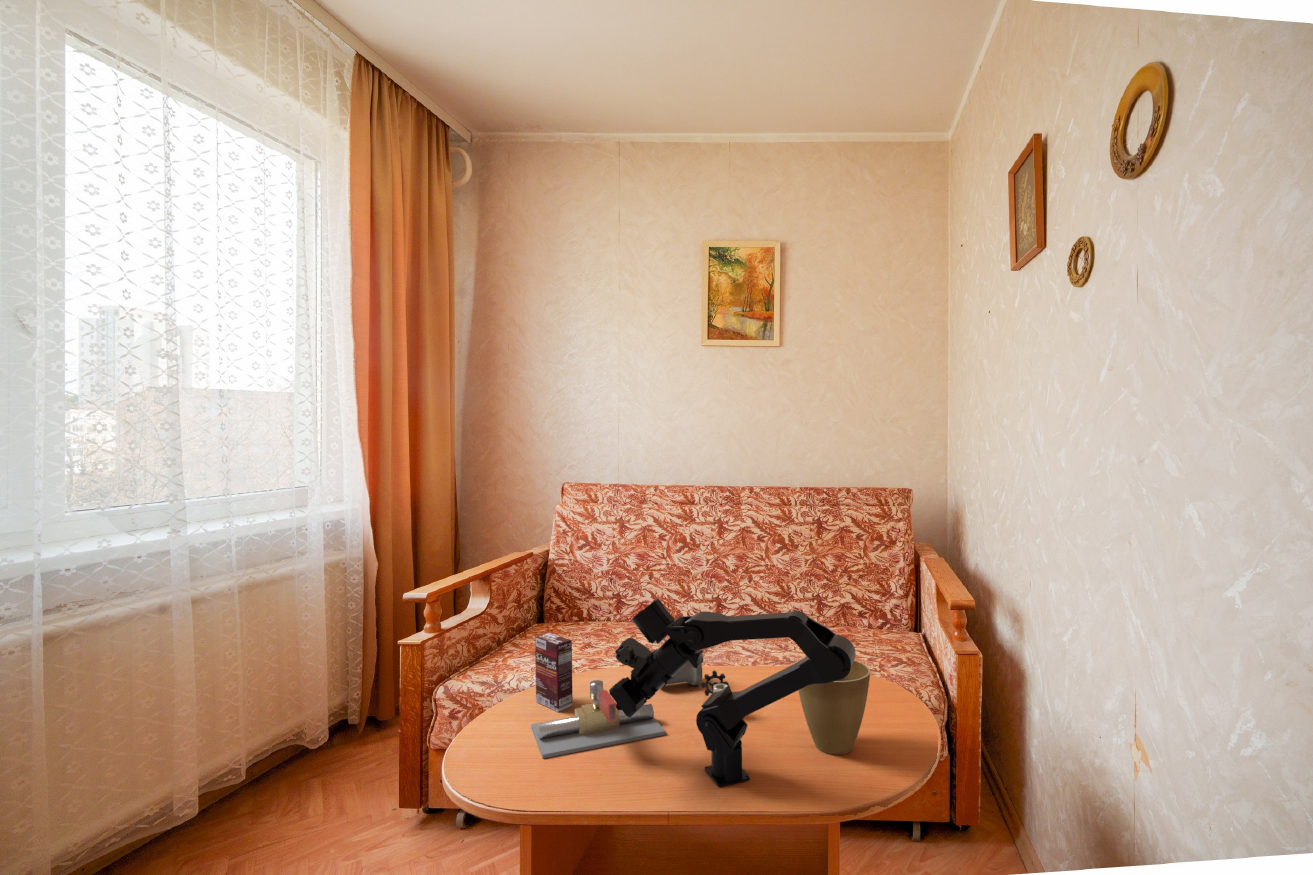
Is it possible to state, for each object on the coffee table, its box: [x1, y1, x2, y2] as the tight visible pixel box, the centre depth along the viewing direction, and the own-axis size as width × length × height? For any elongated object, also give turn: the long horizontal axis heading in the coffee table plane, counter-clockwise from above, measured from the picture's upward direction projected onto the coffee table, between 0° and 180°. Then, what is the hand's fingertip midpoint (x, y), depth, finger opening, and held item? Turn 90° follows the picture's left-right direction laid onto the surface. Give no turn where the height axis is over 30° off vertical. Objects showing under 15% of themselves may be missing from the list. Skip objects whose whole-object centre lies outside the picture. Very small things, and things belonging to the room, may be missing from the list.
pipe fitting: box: [665, 662, 703, 686], centre depth 158 cm, size 12×8×10 cm
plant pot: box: [795, 658, 871, 755], centre depth 127 cm, size 15×15×16 cm
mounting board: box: [530, 716, 666, 759], centre depth 134 cm, size 26×14×1 cm, turn 110°
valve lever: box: [589, 679, 617, 722], centre depth 129 cm, size 13×3×3 cm, turn 20°
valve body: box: [537, 699, 655, 739], centre depth 134 cm, size 25×4×6 cm, turn 110°
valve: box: [700, 669, 730, 697], centre depth 145 cm, size 7×7×12 cm
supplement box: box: [534, 632, 574, 713], centre depth 148 cm, size 9×5×16 cm, turn 48°
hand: (617, 707), depth 126 cm, fingers closed
